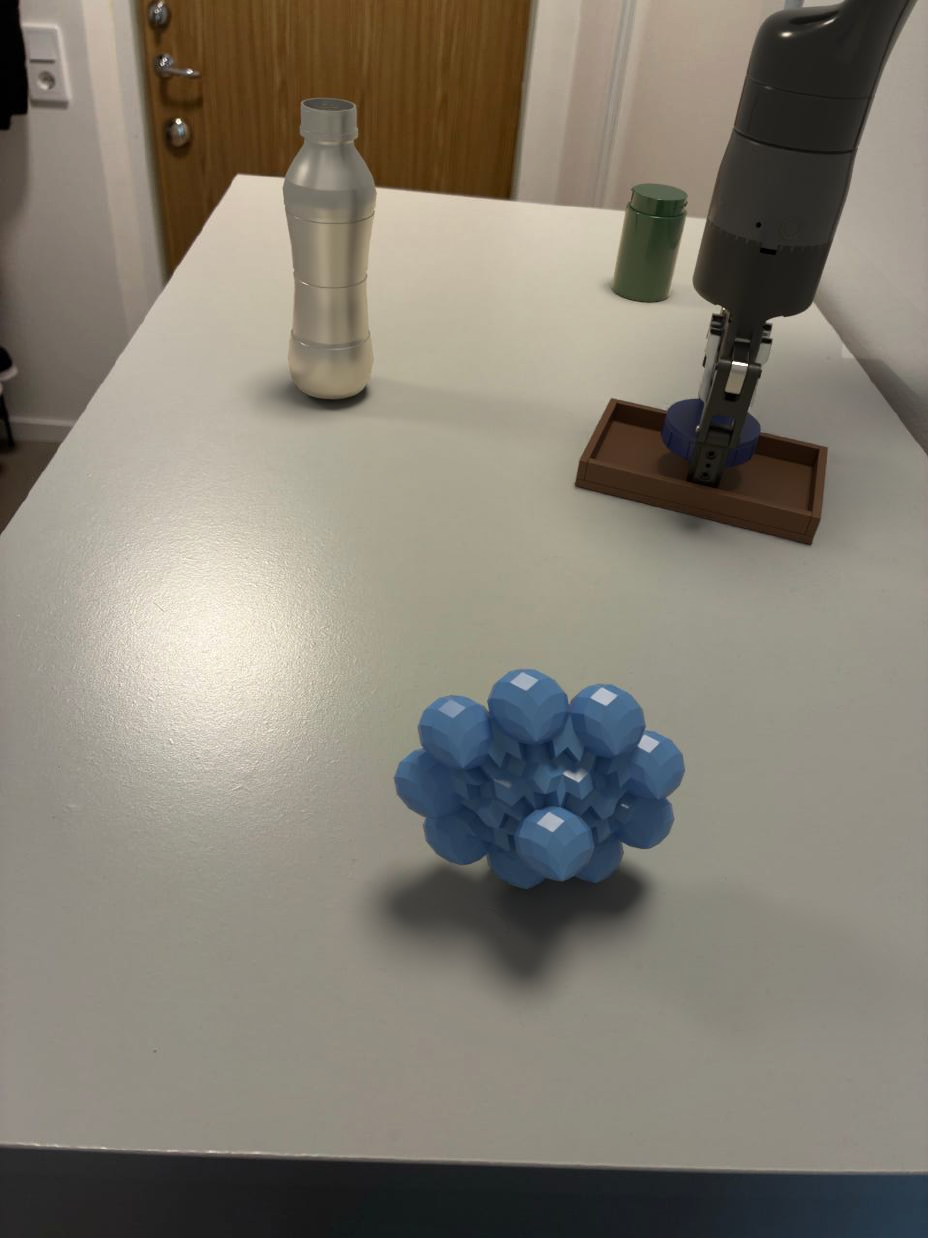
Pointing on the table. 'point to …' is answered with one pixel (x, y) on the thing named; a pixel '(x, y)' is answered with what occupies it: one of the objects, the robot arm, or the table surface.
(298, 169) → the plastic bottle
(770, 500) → the serving tray
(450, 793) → the blue ball cluster
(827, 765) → the table surface
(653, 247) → the jam jar
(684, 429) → the jar lid
